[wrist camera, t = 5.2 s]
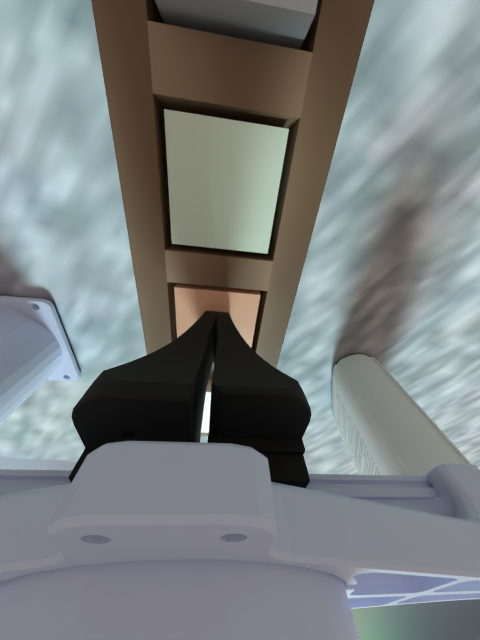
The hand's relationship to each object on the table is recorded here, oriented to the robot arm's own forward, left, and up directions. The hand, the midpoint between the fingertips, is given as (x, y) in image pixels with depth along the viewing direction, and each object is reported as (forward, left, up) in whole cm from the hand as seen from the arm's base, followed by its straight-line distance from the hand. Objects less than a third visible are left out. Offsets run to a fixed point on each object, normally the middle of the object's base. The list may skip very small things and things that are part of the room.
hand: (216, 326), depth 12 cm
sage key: (0, +6, -2) cm, 7 cm away
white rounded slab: (+14, -9, -4) cm, 17 cm away
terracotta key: (0, 0, -2) cm, 2 cm away
